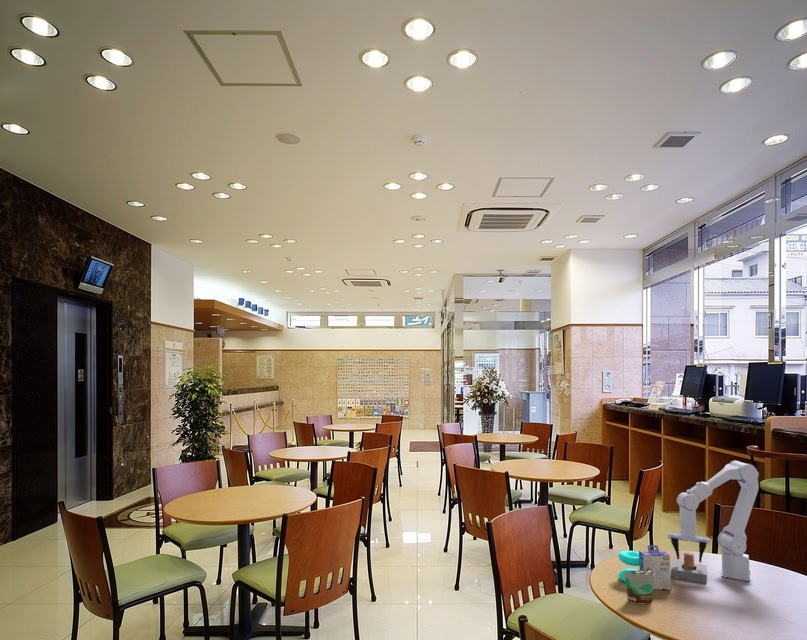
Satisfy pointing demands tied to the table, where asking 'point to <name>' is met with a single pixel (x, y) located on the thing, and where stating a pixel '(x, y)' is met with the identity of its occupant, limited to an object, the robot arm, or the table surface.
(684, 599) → the table surface
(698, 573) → the socket block
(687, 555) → the peg
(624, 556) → the donuts
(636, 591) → the food container
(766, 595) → the table surface
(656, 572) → the ink cartridge box
